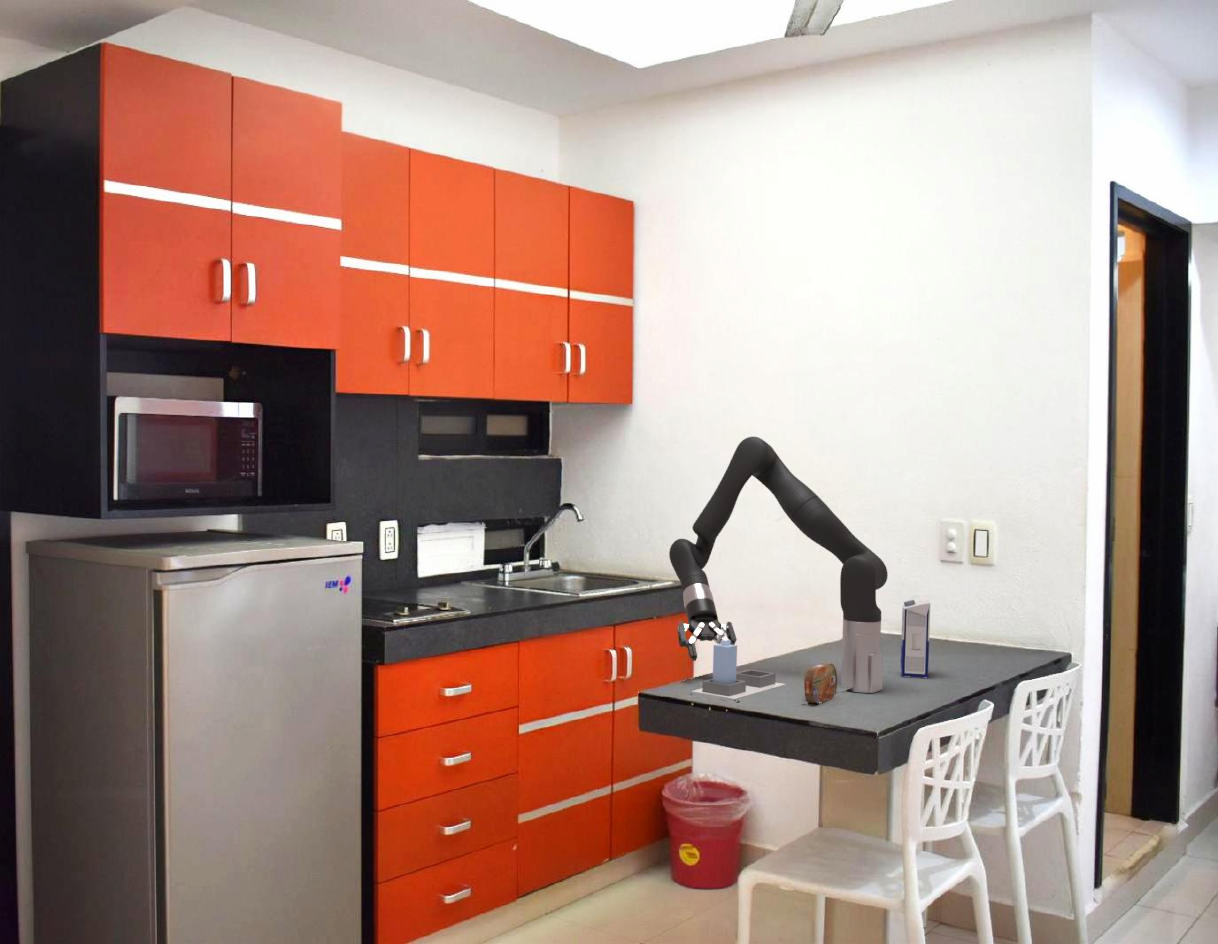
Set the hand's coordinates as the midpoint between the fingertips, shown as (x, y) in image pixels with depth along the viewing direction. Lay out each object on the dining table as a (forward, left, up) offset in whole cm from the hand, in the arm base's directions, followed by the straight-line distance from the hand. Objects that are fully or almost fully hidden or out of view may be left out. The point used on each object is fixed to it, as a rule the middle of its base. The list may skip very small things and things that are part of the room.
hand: (711, 659), depth 293 cm
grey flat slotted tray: (-8, -1, -7) cm, 10 cm away
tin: (-27, -6, -7) cm, 28 cm away
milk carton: (-30, -53, -7) cm, 61 cm away
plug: (-8, +6, -6) cm, 11 cm away
